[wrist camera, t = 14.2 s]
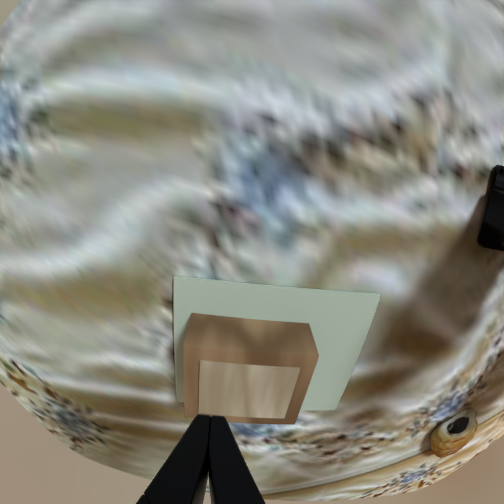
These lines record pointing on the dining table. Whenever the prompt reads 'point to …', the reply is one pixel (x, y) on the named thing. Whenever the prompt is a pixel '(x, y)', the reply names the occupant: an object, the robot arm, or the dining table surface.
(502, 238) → the robot arm
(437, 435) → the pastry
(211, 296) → the mat
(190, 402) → the wooden block
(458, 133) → the dining table surface
